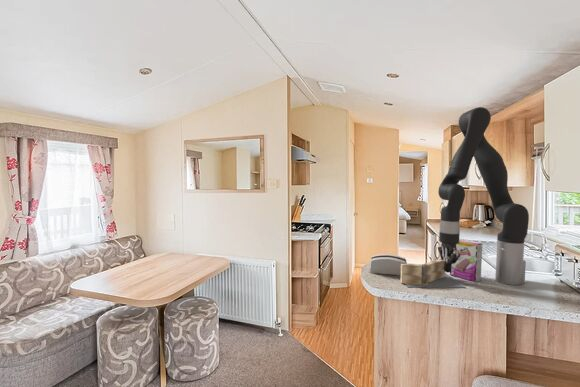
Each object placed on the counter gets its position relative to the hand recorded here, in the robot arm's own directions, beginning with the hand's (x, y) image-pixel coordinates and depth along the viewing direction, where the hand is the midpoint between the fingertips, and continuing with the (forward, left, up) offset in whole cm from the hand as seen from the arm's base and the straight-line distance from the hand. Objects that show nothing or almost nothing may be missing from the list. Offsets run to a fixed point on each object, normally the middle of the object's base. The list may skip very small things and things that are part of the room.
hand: (447, 271), depth 130 cm
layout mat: (+8, -3, -4) cm, 9 cm away
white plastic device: (+22, -9, -4) cm, 24 cm away
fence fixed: (+15, +3, -4) cm, 16 cm away
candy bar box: (-10, -5, -4) cm, 12 cm away
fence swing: (+5, -1, -4) cm, 6 cm away
